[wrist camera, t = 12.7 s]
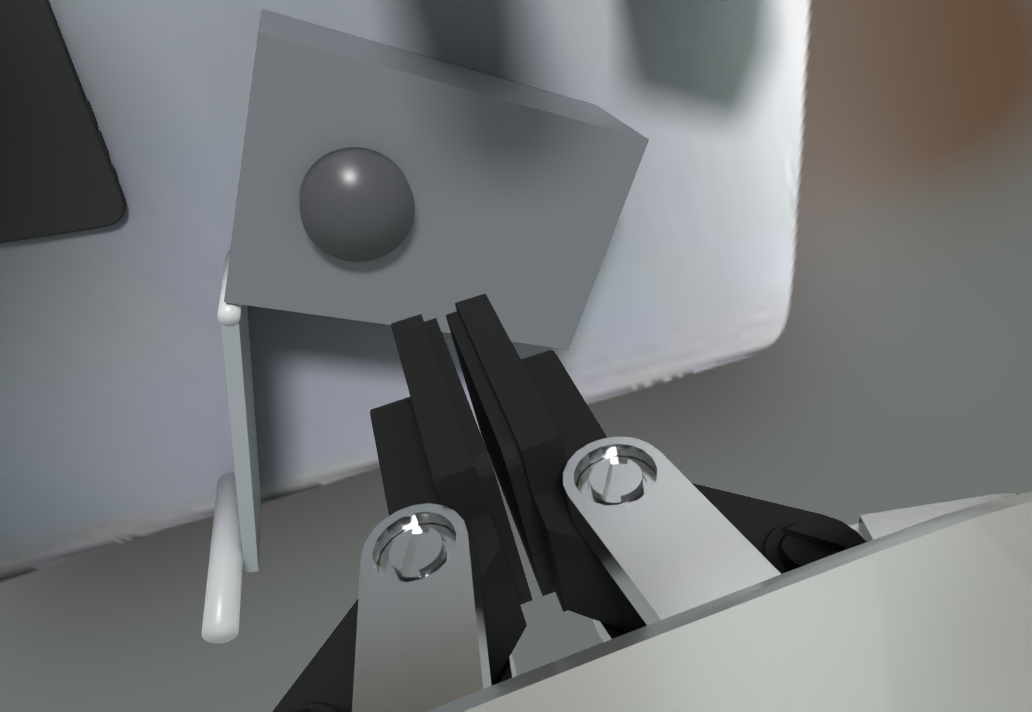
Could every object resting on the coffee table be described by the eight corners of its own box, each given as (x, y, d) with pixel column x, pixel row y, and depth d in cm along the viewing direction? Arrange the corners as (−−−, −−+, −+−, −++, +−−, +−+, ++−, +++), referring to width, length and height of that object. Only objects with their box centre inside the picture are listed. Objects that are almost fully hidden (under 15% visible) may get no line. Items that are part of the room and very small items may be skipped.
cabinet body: (232, 243, 39) (222, 312, 33) (262, 9, 34) (257, 36, 27) (532, 293, 46) (574, 359, 39) (597, 105, 41) (657, 145, 34)
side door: (191, 248, 38) (162, 365, 29) (245, 248, 39) (233, 362, 30) (219, 498, 47) (203, 651, 38) (262, 495, 48) (258, 643, 39)
